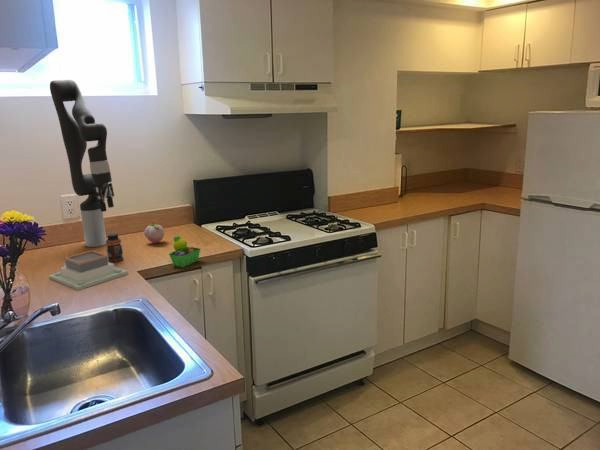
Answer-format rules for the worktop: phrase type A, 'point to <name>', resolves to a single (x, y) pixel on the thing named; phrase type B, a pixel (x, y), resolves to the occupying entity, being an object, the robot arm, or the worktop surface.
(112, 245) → the supplement bottle
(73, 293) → the worktop surface
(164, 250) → the worktop surface
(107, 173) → the robot arm
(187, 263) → the fruit basket
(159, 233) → the decorative fruit
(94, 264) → the stacked grey pedestal
